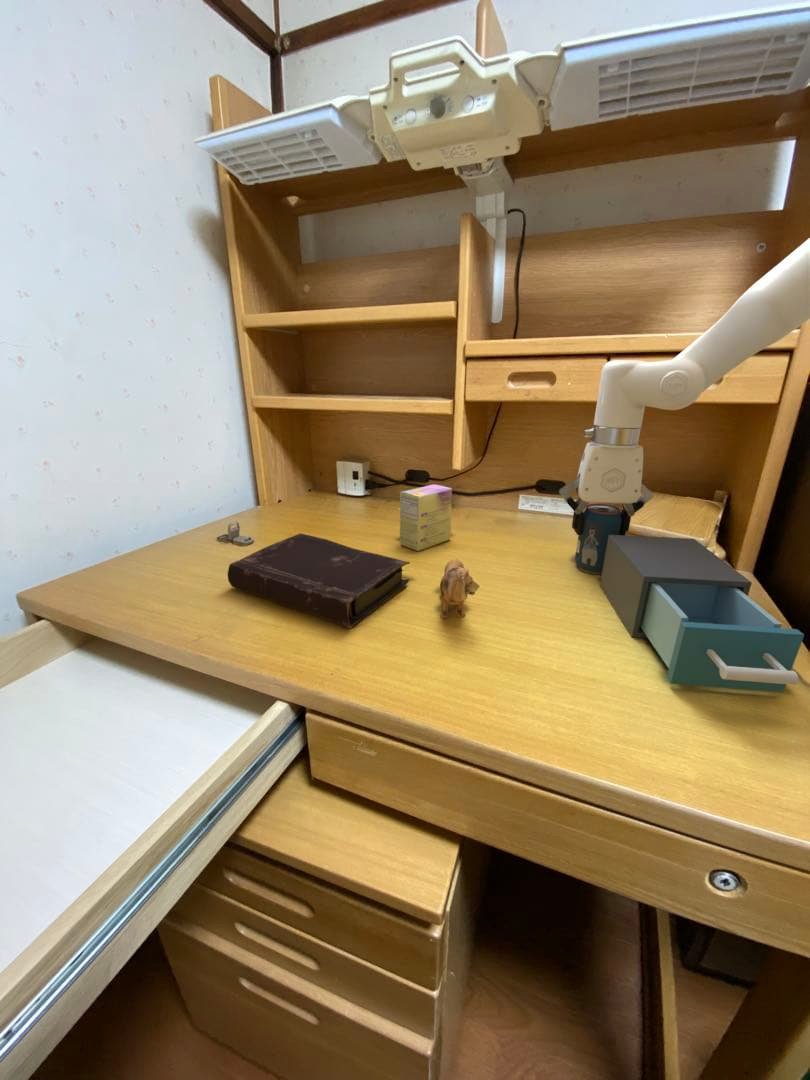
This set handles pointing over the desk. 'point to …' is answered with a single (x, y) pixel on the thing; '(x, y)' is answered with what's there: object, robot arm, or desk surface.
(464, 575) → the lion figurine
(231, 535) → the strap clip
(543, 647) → the desk surface
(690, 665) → the teal drawer
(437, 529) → the box
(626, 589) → the drawer cabinet casing
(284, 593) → the diary
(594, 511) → the soda can
